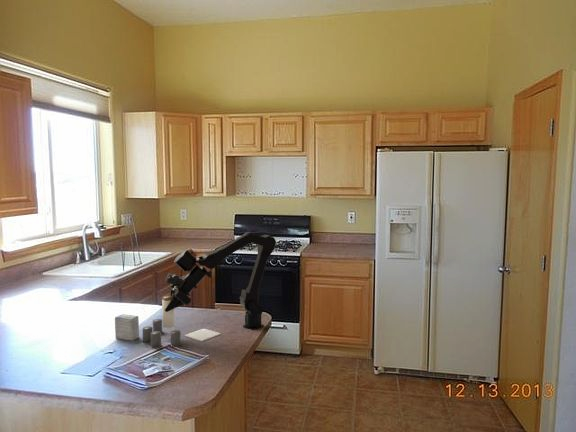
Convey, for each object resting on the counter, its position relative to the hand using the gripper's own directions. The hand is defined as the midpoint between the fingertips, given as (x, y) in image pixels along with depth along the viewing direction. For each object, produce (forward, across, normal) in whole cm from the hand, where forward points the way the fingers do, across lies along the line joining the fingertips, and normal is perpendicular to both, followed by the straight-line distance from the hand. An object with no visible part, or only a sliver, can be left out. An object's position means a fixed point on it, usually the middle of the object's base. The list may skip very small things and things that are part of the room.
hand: (164, 309), depth 162 cm
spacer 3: (+11, +7, +5) cm, 14 cm away
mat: (-2, +2, +18) cm, 18 cm away
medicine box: (+18, -6, -2) cm, 19 cm away
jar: (+4, 0, +6) cm, 7 cm away
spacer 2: (+10, -8, +6) cm, 14 cm away
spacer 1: (+13, 0, +3) cm, 13 cm away
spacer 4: (+6, +8, +10) cm, 14 cm away
